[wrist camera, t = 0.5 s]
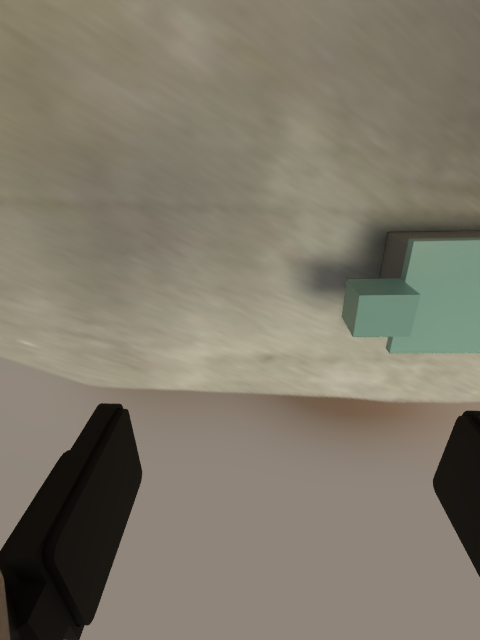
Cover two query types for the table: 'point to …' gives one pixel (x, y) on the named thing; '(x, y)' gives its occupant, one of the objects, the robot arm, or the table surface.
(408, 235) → the tub
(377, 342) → the table surface
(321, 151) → the table surface
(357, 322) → the lid
